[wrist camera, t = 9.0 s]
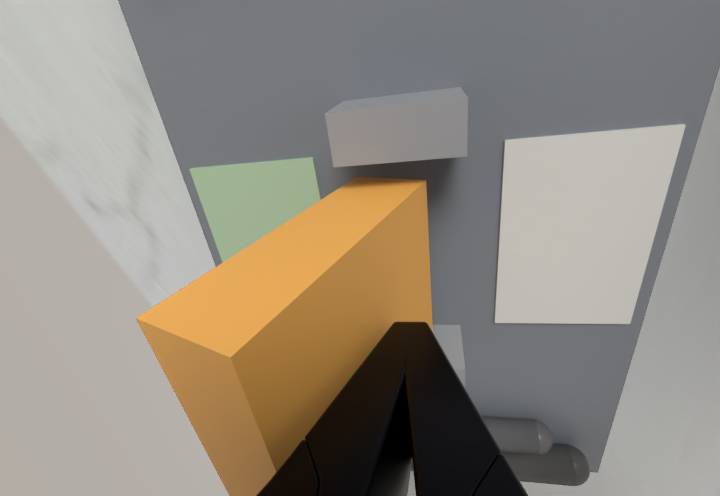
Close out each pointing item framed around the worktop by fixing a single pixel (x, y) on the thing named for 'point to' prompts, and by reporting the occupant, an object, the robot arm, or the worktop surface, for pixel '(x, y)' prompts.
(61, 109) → the worktop surface
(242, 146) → the panel
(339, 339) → the lever
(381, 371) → the robot arm
